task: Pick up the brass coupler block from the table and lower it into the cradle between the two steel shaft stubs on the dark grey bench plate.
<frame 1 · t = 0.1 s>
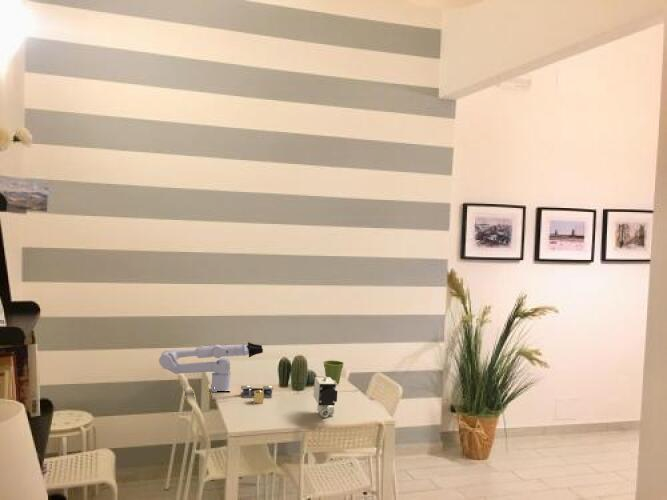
hand: (262, 348, 310), 22 cm above the table, tool horizontal, fingers open, 7 cm apart
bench: (256, 395, 303), on the table
plant pot: (332, 383, 336), on the table
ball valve: (324, 415, 277), on the table
coupler: (258, 402, 291), on the table
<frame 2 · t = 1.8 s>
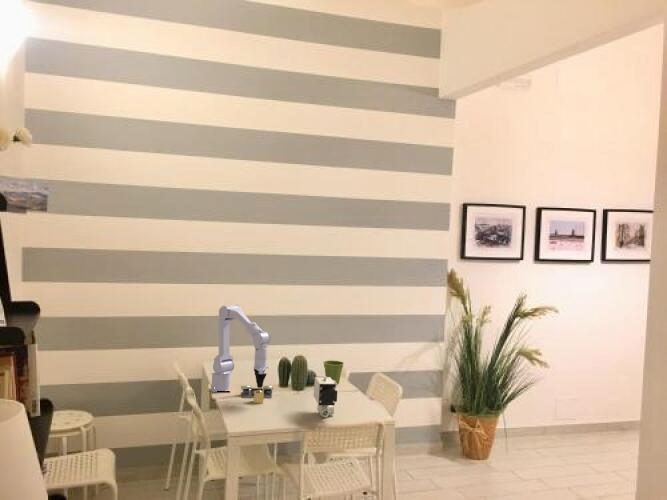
hand: (259, 385, 291), 8 cm above the table, tool pointing down, fingers open, 7 cm apart
nothing on the table moved.
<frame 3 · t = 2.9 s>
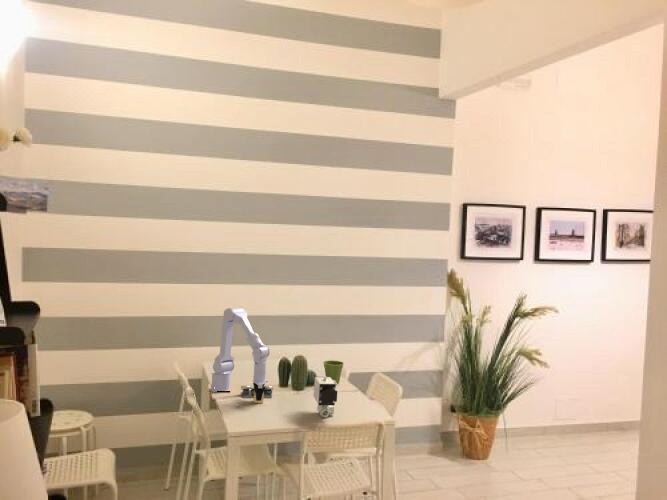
hand: (258, 399, 291), 1 cm above the table, tool pointing down, fingers closed on coupler, 4 cm apart
coupler: (258, 402, 291), on the table, touching gripper
everything else where it was.
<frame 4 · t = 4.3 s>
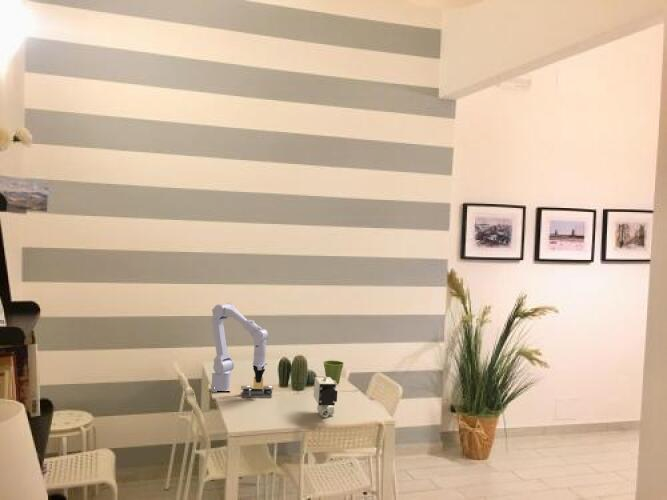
hand: (258, 381, 298), 8 cm above the table, tool pointing down, fingers closed on coupler, 4 cm apart
coupler: (257, 387, 298), point 5 cm above the table, touching gripper
everything else where it was.
when the fingers open (4 cm above the table, at t = 5.9 s): coupler stays where it is, resting on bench.
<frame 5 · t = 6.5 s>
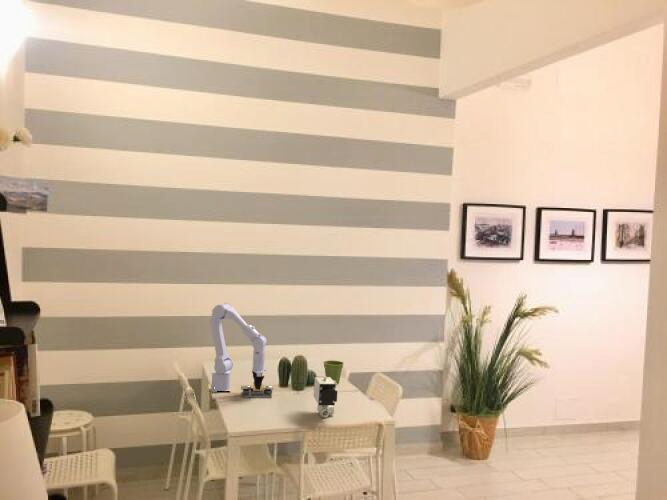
hand: (257, 387, 303), 4 cm above the table, tool pointing down, fingers open, 7 cm apart
coupler: (257, 393, 303), point 1 cm above the table, touching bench
everything else where it was.
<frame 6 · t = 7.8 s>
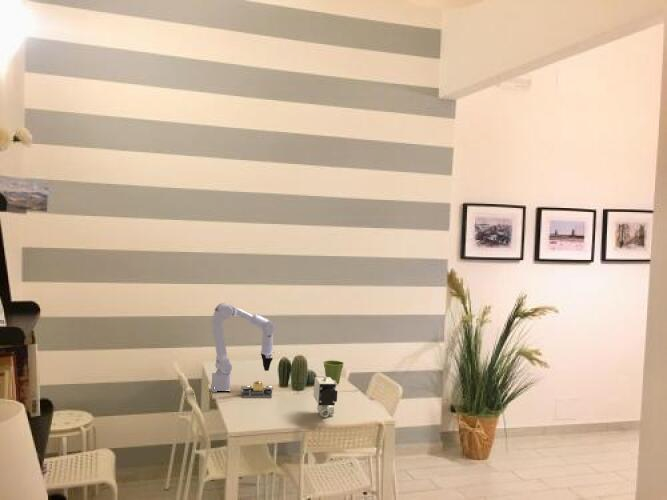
hand: (265, 368, 317), 10 cm above the table, tool pointing down, fingers open, 7 cm apart
nothing on the table moved.
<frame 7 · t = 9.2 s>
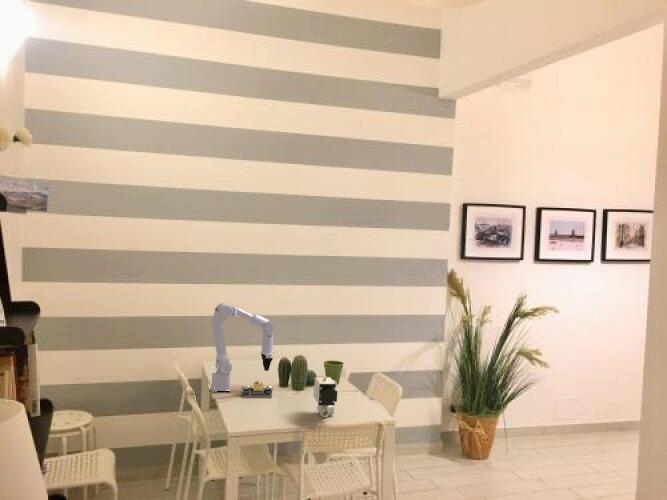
hand: (265, 368, 317), 10 cm above the table, tool pointing down, fingers open, 7 cm apart
nothing on the table moved.
at the end: coupler 0.2 cm off-centre on the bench, point 1.0 cm above the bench's base; coupler tilted 0°; the gripper is holding nothing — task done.
